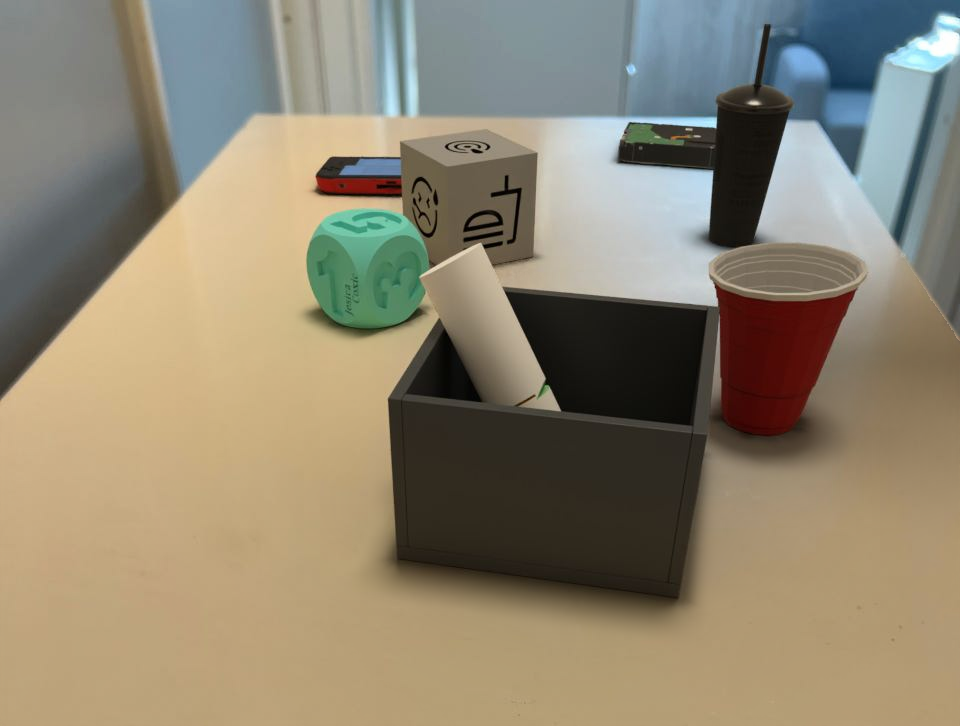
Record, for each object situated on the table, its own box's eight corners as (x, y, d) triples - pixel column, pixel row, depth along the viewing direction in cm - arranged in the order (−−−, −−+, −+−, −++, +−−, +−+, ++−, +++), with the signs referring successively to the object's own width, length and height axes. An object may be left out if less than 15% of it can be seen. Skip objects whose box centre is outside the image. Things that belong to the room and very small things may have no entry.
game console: (442, 167, 127) (441, 148, 125) (434, 198, 117) (434, 178, 116) (330, 164, 127) (328, 146, 126) (313, 195, 118) (311, 175, 116)
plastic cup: (700, 376, 82) (725, 227, 74) (835, 399, 79) (875, 246, 71) (670, 436, 74) (694, 276, 66) (818, 464, 71) (861, 301, 63)
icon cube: (533, 256, 103) (537, 152, 96) (448, 273, 99) (447, 166, 92) (485, 228, 109) (486, 128, 103) (404, 243, 105) (399, 141, 99)
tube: (547, 491, 64) (437, 270, 58) (515, 489, 67) (408, 282, 62) (596, 456, 65) (493, 237, 59) (561, 457, 69) (461, 250, 63)
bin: (695, 453, 72) (720, 306, 65) (678, 598, 59) (707, 434, 52) (461, 426, 75) (460, 282, 68) (396, 558, 62) (387, 398, 55)
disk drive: (734, 151, 134) (625, 142, 136) (738, 128, 132) (627, 119, 135) (732, 172, 126) (616, 162, 129) (736, 149, 125) (619, 139, 127)
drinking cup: (752, 256, 103) (794, 35, 90) (684, 242, 106) (715, 26, 93) (777, 235, 108) (819, 22, 95) (711, 223, 111) (743, 14, 98)
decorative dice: (309, 311, 91) (300, 221, 86) (375, 288, 96) (370, 202, 91) (365, 337, 87) (359, 244, 82) (432, 312, 92) (429, 222, 86)
